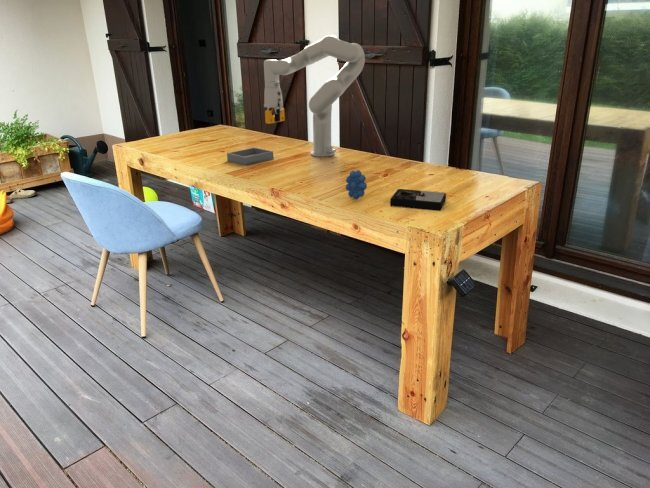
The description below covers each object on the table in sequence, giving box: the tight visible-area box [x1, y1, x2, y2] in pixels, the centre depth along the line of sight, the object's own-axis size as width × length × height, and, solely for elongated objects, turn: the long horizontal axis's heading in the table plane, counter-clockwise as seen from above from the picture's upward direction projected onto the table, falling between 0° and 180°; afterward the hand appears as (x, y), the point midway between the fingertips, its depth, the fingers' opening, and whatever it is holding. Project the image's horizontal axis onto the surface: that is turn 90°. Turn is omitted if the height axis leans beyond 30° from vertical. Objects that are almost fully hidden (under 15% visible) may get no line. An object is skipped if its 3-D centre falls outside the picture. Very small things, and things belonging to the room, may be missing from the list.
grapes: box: [345, 169, 368, 200], centre depth 207 cm, size 12×7×12 cm, turn 37°
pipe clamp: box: [264, 107, 286, 125], centre depth 278 cm, size 12×4×6 cm, turn 142°
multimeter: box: [389, 188, 447, 212], centre depth 202 cm, size 13×19×5 cm
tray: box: [226, 146, 274, 166], centre depth 271 cm, size 15×18×4 cm
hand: (274, 120), depth 279 cm, fingers closed on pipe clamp, 4 cm apart
